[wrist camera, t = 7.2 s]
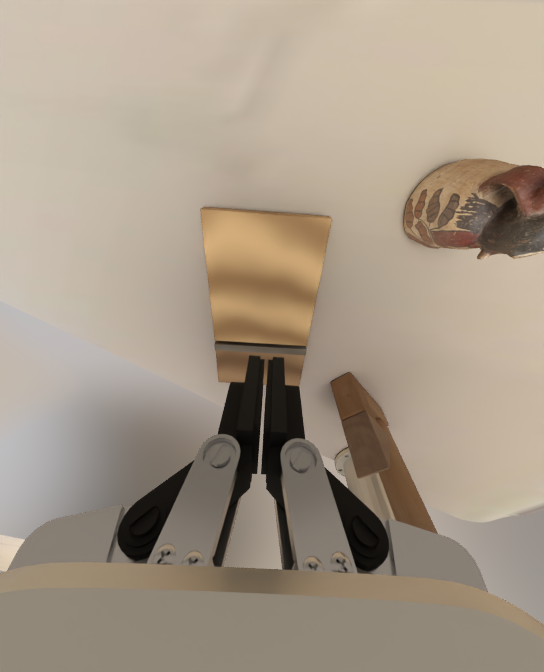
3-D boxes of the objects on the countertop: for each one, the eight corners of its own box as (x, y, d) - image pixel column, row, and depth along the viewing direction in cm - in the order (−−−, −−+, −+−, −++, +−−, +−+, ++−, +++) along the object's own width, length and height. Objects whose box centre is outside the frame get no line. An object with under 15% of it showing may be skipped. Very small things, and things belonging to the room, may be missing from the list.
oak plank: (305, 339, 31) (306, 345, 29) (217, 333, 30) (214, 340, 29) (329, 216, 22) (332, 219, 20) (204, 206, 21) (200, 209, 20)
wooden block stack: (349, 370, 34) (408, 514, 19) (380, 407, 38) (449, 547, 23) (328, 381, 35) (368, 524, 20) (361, 415, 40) (414, 553, 25)
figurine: (409, 257, 25) (500, 303, 15) (395, 190, 21) (502, 190, 11) (482, 223, 23) (645, 249, 13) (479, 143, 19) (698, 93, 9)
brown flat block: (298, 378, 35) (299, 387, 33) (220, 374, 35) (218, 382, 33) (304, 341, 31) (306, 349, 30) (217, 336, 31) (214, 343, 29)
